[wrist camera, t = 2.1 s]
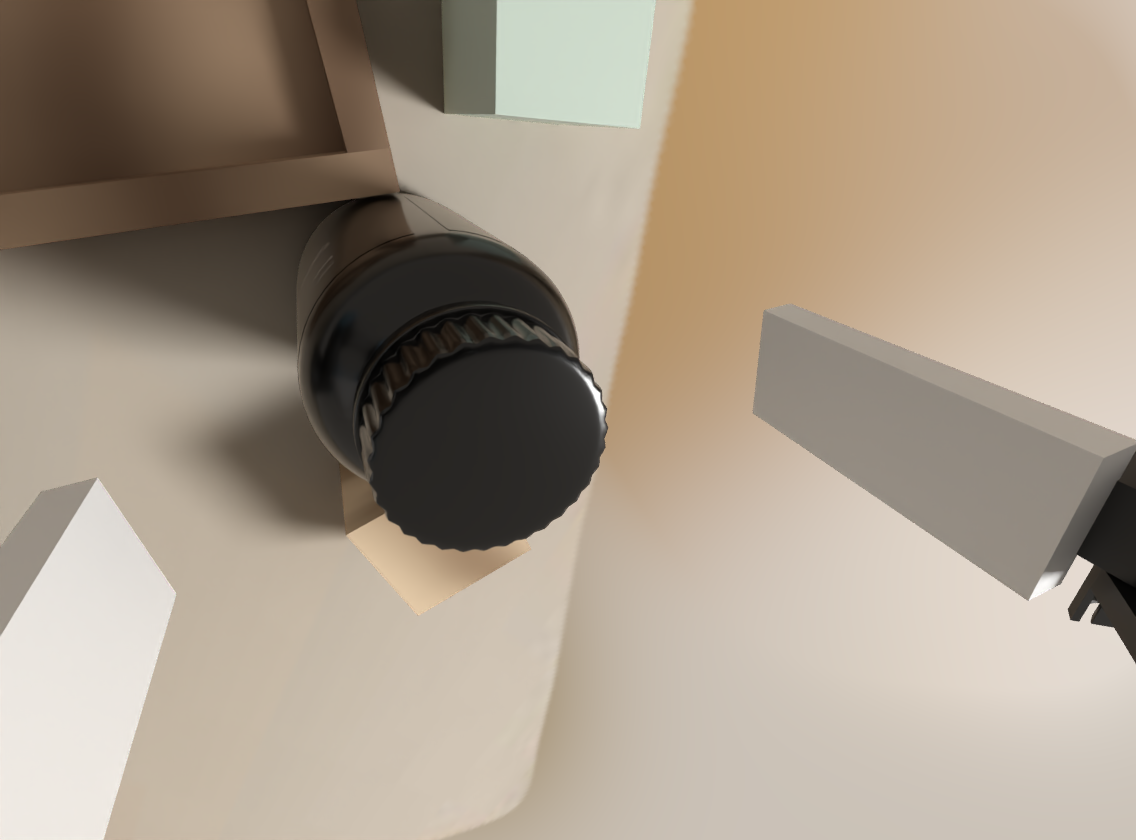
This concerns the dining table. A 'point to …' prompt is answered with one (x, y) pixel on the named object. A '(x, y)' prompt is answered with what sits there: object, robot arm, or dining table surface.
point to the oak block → (413, 551)
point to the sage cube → (547, 60)
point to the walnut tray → (181, 113)
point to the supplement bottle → (444, 373)
